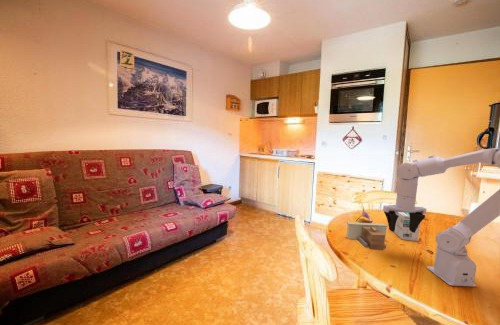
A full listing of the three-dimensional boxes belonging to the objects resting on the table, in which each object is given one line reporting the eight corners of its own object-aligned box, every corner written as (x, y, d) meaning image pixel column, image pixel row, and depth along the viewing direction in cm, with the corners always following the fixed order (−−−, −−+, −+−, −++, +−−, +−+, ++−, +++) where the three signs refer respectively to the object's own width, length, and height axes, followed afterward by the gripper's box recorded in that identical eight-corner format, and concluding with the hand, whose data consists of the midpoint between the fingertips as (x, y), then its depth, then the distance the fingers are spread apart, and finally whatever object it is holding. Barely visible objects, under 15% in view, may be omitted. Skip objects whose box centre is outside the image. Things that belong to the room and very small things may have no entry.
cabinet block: (383, 249, 89) (385, 232, 88) (370, 249, 89) (372, 232, 88) (372, 240, 97) (374, 224, 96) (360, 239, 97) (362, 224, 96)
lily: (365, 230, 109) (378, 214, 108) (345, 214, 117) (356, 199, 116) (371, 231, 118) (383, 216, 116) (352, 216, 126) (363, 202, 124)
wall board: (396, 248, 90) (398, 232, 89) (355, 246, 90) (356, 230, 89) (383, 238, 99) (384, 223, 98) (345, 236, 99) (347, 222, 98)
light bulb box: (418, 241, 97) (421, 217, 96) (400, 239, 98) (404, 215, 97) (406, 231, 107) (409, 209, 106) (390, 229, 109) (393, 208, 107)
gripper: (418, 193, 86) (413, 227, 88) (380, 191, 86) (376, 225, 88) (432, 198, 79) (427, 235, 81) (391, 196, 79) (387, 233, 81)
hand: (401, 231), depth 84 cm, fingers open, 7 cm apart
